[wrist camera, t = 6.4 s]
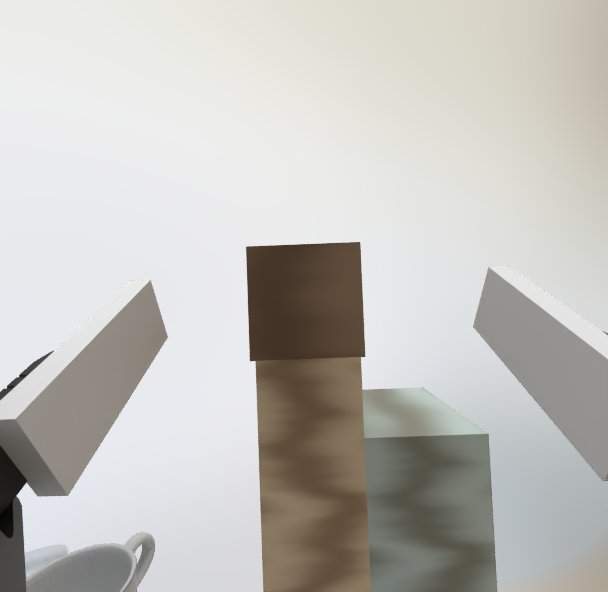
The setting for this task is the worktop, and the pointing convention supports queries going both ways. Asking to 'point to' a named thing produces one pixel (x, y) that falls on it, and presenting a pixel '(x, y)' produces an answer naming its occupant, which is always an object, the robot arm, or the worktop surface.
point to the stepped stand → (369, 485)
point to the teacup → (96, 568)
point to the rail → (305, 301)
